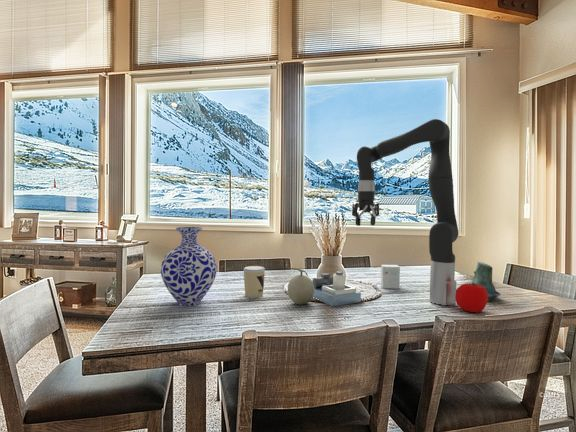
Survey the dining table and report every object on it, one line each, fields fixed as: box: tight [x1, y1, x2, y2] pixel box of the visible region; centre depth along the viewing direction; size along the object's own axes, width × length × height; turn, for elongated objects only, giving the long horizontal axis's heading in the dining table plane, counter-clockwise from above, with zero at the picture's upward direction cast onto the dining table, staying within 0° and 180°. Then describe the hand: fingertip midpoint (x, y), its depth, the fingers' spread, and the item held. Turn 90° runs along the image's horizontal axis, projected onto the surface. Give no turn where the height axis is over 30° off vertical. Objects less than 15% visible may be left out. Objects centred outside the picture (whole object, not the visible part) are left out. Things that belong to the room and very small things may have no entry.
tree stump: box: [469, 261, 501, 301], centre depth 166 cm, size 18×20×18 cm
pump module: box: [332, 271, 346, 290], centre depth 157 cm, size 5×5×8 cm
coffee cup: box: [243, 265, 266, 298], centre depth 164 cm, size 9×9×12 cm
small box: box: [380, 264, 401, 290], centre depth 182 cm, size 8×6×10 cm
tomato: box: [455, 282, 489, 313], centre depth 145 cm, size 12×12×11 cm
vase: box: [160, 226, 218, 307], centre depth 151 cm, size 22×22×30 cm
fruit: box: [285, 266, 314, 305], centre depth 152 cm, size 10×12×15 cm
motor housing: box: [311, 272, 362, 307], centre depth 160 cm, size 18×14×9 cm
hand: (365, 225), depth 176 cm, fingers open, 8 cm apart
